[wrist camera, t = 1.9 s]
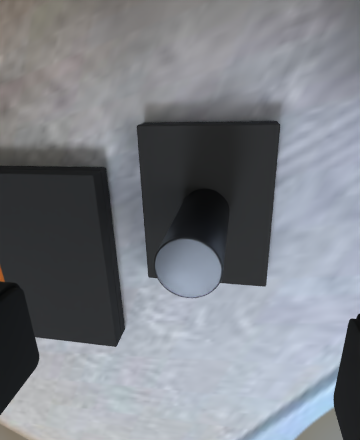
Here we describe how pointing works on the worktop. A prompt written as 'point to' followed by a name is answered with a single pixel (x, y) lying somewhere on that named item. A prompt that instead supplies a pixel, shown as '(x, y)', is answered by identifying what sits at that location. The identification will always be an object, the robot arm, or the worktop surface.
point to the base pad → (62, 251)
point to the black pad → (221, 169)
